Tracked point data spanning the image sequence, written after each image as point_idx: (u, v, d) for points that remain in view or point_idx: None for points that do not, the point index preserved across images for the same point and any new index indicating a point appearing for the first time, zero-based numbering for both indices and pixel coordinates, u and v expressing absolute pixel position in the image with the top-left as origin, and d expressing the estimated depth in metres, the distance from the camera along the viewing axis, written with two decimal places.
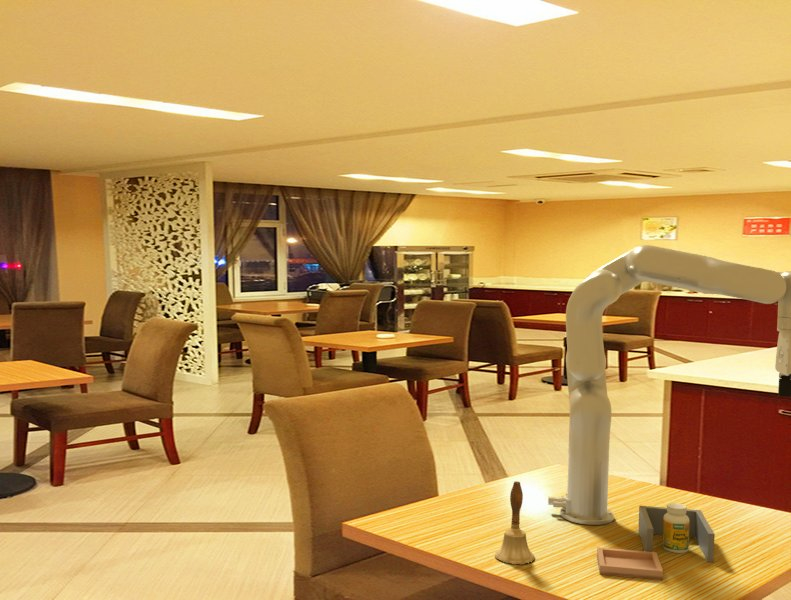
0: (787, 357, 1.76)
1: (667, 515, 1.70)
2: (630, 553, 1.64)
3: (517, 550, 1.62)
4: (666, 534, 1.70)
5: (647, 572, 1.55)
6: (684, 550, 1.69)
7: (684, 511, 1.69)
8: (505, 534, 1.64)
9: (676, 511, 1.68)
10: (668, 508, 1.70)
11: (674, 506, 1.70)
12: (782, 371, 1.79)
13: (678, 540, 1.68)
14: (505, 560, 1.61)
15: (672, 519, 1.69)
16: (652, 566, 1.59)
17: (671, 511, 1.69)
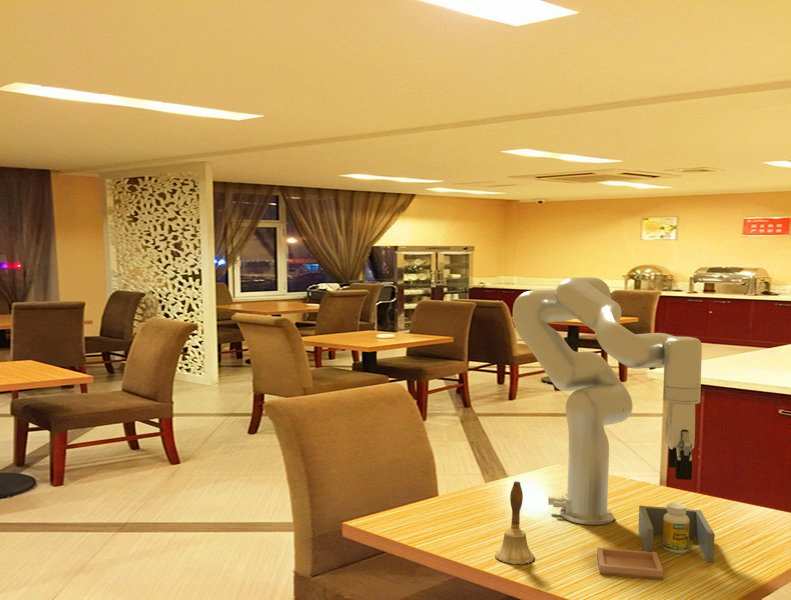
0: (671, 429, 1.66)
1: (667, 515, 1.70)
2: (630, 553, 1.64)
3: (517, 550, 1.62)
4: (666, 534, 1.70)
5: (647, 572, 1.55)
6: (684, 550, 1.69)
7: (684, 511, 1.69)
8: (505, 534, 1.64)
9: (676, 511, 1.68)
10: (668, 508, 1.70)
11: (674, 506, 1.70)
12: (668, 443, 1.68)
13: (678, 540, 1.68)
14: (505, 560, 1.61)
15: (672, 519, 1.69)
16: (652, 566, 1.59)
17: (671, 511, 1.69)
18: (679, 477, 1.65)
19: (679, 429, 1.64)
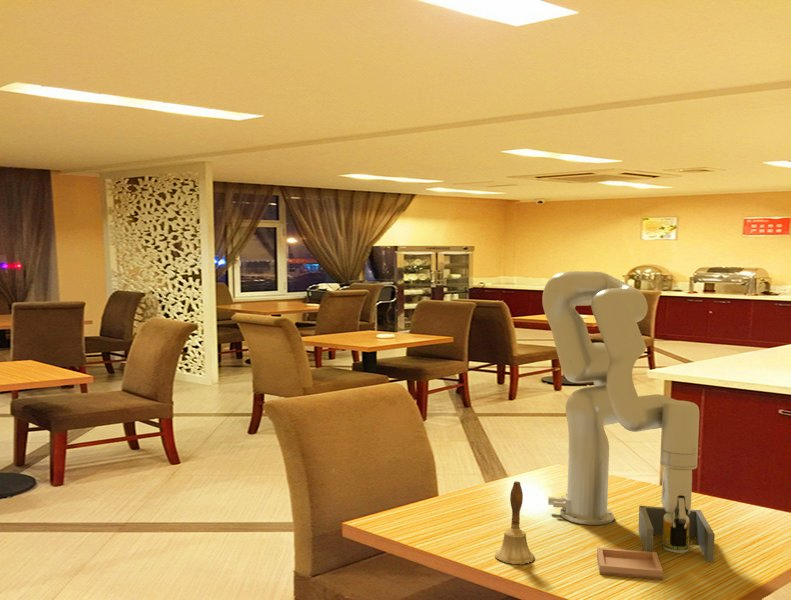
0: (668, 495, 1.66)
1: (667, 515, 1.70)
2: (630, 553, 1.64)
3: (517, 550, 1.62)
4: (666, 534, 1.70)
5: (647, 572, 1.55)
6: (684, 550, 1.69)
7: None
8: (505, 534, 1.64)
9: (676, 511, 1.68)
10: None
11: None
12: (664, 507, 1.69)
13: None
14: (505, 560, 1.61)
15: None
16: (652, 566, 1.59)
17: None
18: (674, 544, 1.68)
19: (676, 495, 1.65)
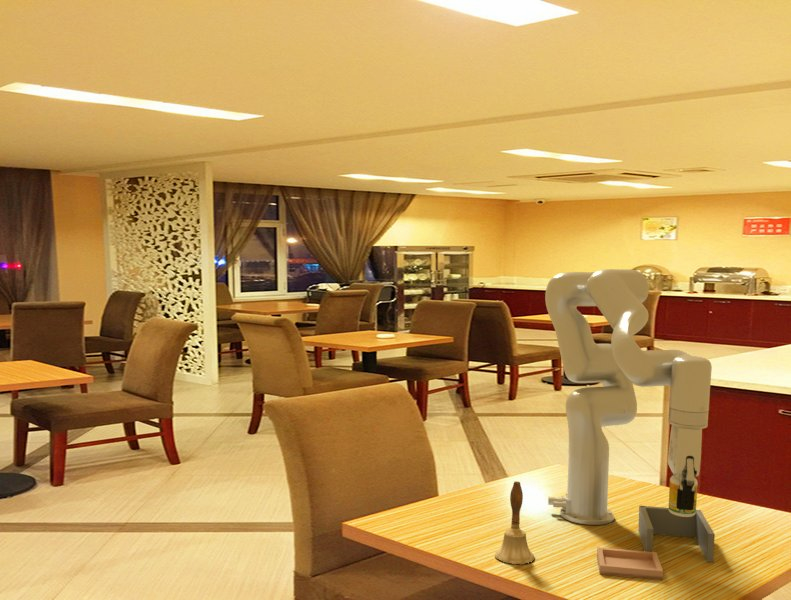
0: (675, 455, 1.56)
1: (674, 477, 1.60)
2: (630, 553, 1.64)
3: (517, 550, 1.62)
4: (673, 497, 1.60)
5: (647, 572, 1.55)
6: (691, 514, 1.59)
7: None
8: (505, 534, 1.64)
9: (684, 473, 1.59)
10: None
11: None
12: (671, 468, 1.59)
13: None
14: (505, 560, 1.61)
15: None
16: (652, 566, 1.59)
17: None
18: (680, 507, 1.58)
19: (684, 455, 1.55)
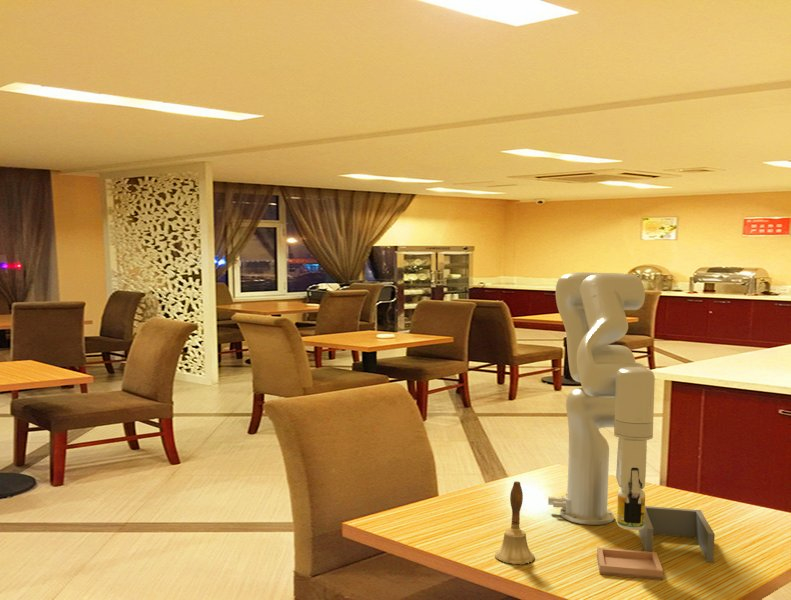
0: (621, 467, 1.55)
1: (621, 490, 1.59)
2: (630, 553, 1.64)
3: (517, 550, 1.62)
4: (620, 510, 1.58)
5: (647, 572, 1.55)
6: (639, 527, 1.57)
7: None
8: (505, 534, 1.64)
9: (631, 485, 1.57)
10: None
11: None
12: (618, 481, 1.58)
13: None
14: (505, 560, 1.61)
15: None
16: (652, 566, 1.59)
17: None
18: (628, 520, 1.56)
19: (629, 467, 1.54)
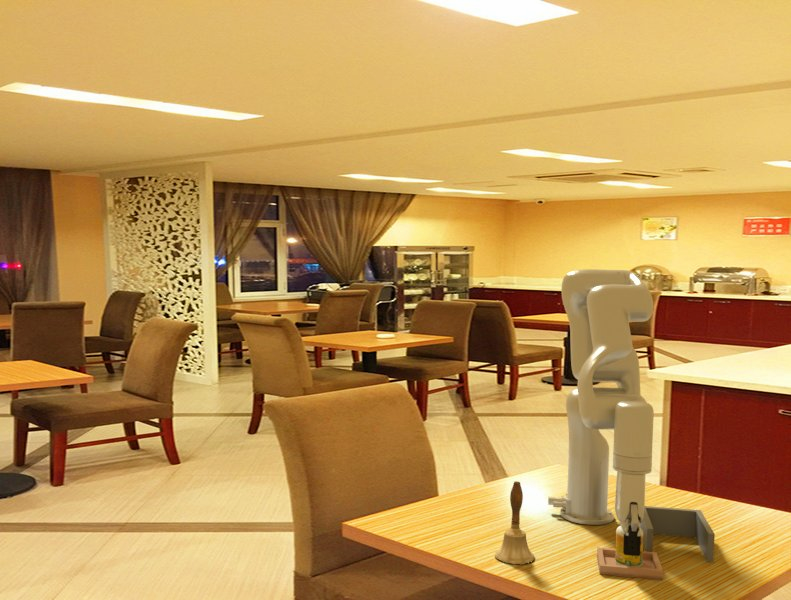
0: (619, 501, 1.56)
1: (620, 528, 1.60)
2: None
3: (517, 550, 1.62)
4: (619, 549, 1.59)
5: (647, 572, 1.55)
6: (637, 566, 1.58)
7: None
8: (505, 534, 1.64)
9: (629, 524, 1.58)
10: (621, 521, 1.59)
11: (627, 518, 1.59)
12: None
13: (631, 555, 1.58)
14: (505, 560, 1.61)
15: None
16: (652, 566, 1.59)
17: (623, 524, 1.59)
18: (627, 553, 1.55)
19: (628, 501, 1.55)
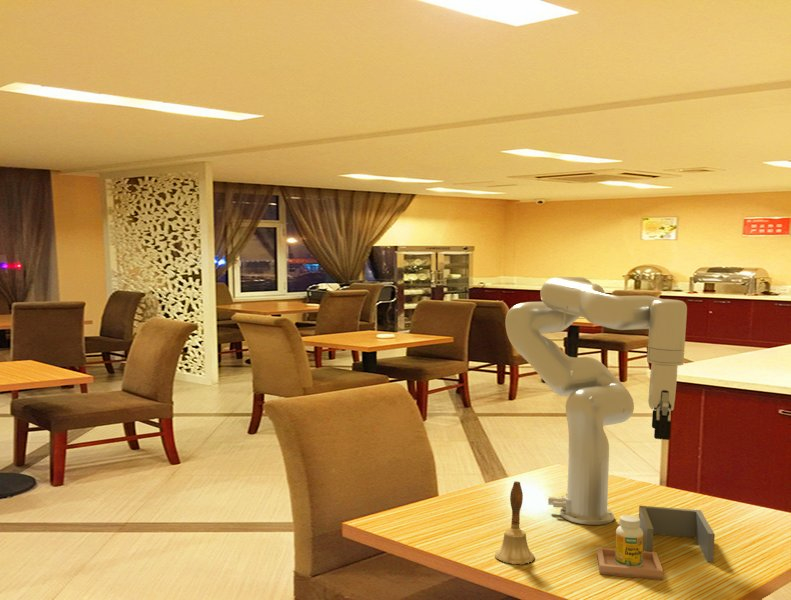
0: (652, 390, 1.68)
1: (620, 528, 1.60)
2: None
3: (517, 550, 1.62)
4: (618, 549, 1.59)
5: (647, 572, 1.55)
6: (637, 566, 1.58)
7: (637, 524, 1.58)
8: (505, 534, 1.64)
9: (629, 524, 1.58)
10: (621, 521, 1.59)
11: (627, 518, 1.59)
12: (649, 404, 1.71)
13: (631, 555, 1.58)
14: (505, 560, 1.61)
15: (624, 533, 1.58)
16: (652, 566, 1.59)
17: (623, 524, 1.59)
18: (658, 437, 1.67)
19: (659, 390, 1.67)
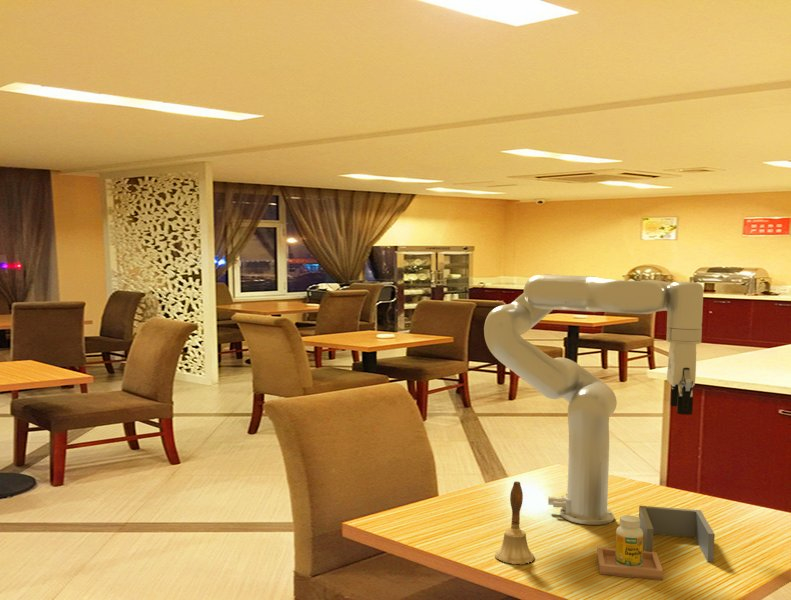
0: (673, 368, 1.76)
1: (620, 528, 1.60)
2: None
3: (517, 550, 1.62)
4: (619, 549, 1.59)
5: (647, 572, 1.55)
6: (637, 566, 1.58)
7: (637, 524, 1.58)
8: (505, 534, 1.64)
9: (629, 524, 1.58)
10: (621, 521, 1.59)
11: (627, 519, 1.59)
12: (670, 382, 1.79)
13: (631, 555, 1.58)
14: (505, 560, 1.61)
15: (624, 533, 1.58)
16: (652, 566, 1.59)
17: (623, 524, 1.59)
18: (680, 412, 1.76)
19: (681, 367, 1.75)
